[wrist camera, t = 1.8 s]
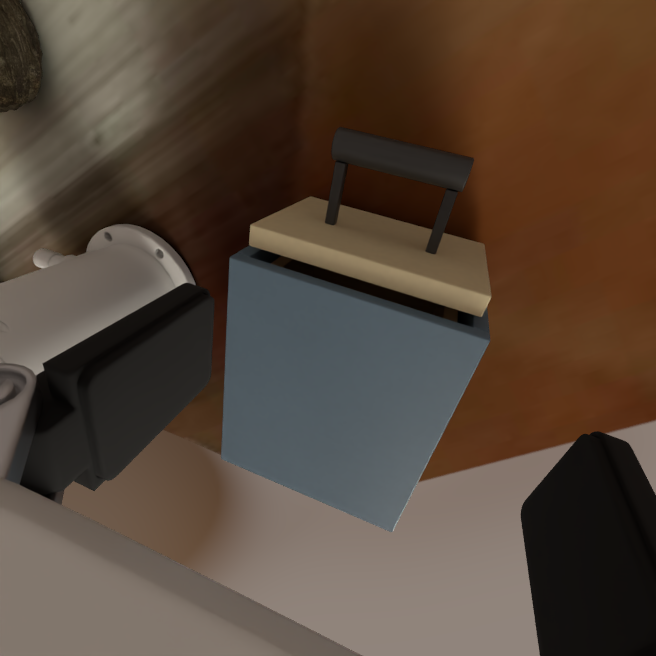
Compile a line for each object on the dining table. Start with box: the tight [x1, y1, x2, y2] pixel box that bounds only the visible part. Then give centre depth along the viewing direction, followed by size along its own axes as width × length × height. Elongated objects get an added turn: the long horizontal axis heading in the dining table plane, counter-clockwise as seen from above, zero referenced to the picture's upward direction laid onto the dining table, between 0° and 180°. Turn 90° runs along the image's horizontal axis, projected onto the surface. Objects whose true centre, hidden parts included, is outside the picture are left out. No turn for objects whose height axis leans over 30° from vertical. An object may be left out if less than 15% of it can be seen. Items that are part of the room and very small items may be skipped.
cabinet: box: [221, 246, 490, 532], centre depth 27 cm, size 17×14×11 cm
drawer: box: [249, 127, 491, 322], centre depth 24 cm, size 20×12×9 cm, turn 169°
